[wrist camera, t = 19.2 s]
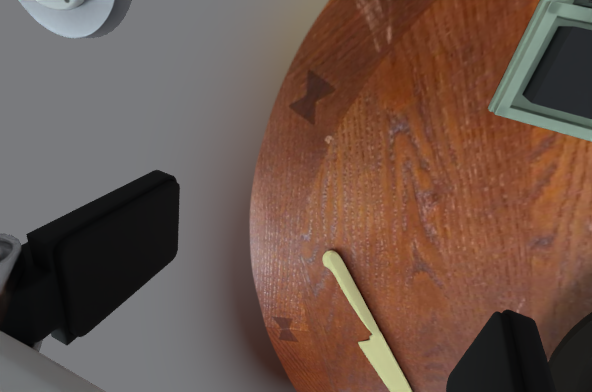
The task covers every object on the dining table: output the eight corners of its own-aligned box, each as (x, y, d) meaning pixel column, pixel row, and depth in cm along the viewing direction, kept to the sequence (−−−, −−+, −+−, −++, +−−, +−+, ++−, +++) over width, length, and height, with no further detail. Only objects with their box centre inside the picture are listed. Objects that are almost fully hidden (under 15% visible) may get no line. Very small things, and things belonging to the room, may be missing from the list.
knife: (413, 444, 50) (444, 450, 47) (304, 258, 43) (334, 252, 40) (414, 436, 51) (446, 441, 48) (308, 252, 44) (338, 245, 41)
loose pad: (521, 94, 27) (530, 103, 24) (558, 25, 25) (573, 25, 22) (591, 113, 26) (609, 124, 23) (637, 43, 24) (663, 45, 21)
